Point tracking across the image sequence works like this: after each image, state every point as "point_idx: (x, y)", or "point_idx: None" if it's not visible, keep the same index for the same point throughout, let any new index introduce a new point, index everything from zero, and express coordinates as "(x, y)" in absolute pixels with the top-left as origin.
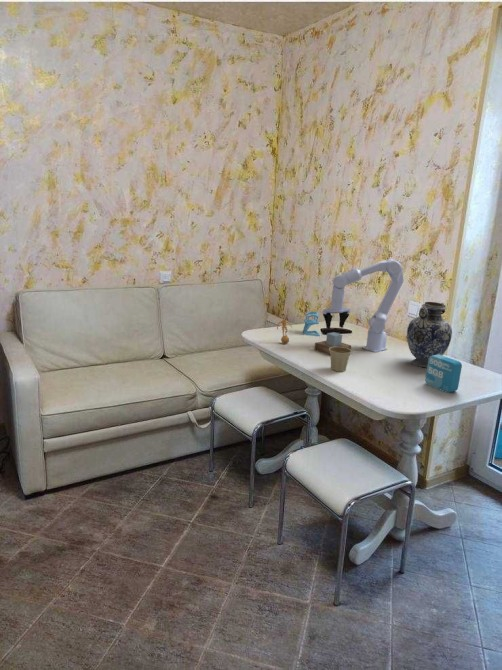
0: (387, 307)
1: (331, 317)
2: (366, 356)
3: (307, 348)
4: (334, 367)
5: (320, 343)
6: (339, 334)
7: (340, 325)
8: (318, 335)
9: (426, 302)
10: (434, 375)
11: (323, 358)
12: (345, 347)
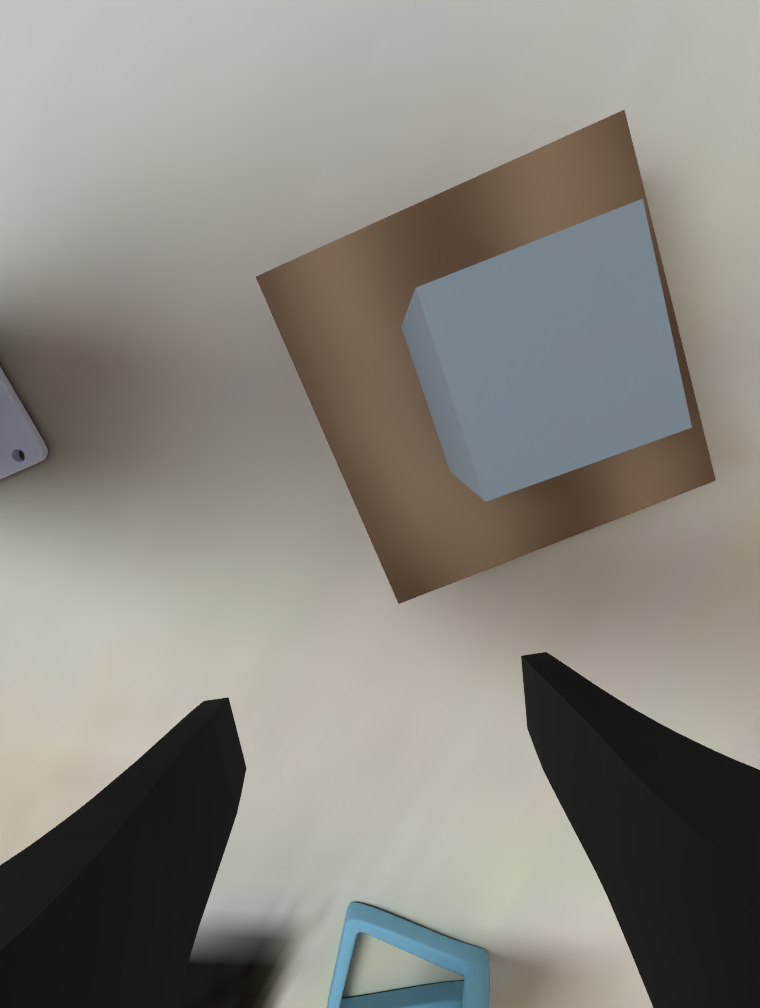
0: None
1: (757, 842)
2: (131, 107)
3: (702, 524)
4: None
5: (662, 438)
6: (465, 321)
7: (228, 769)
8: (360, 907)
9: None
10: None
11: (739, 110)
12: (378, 224)
